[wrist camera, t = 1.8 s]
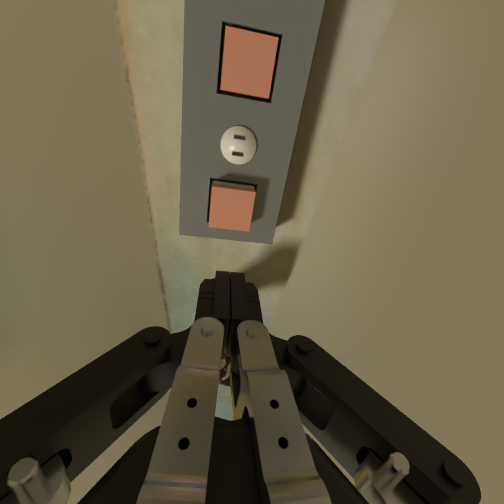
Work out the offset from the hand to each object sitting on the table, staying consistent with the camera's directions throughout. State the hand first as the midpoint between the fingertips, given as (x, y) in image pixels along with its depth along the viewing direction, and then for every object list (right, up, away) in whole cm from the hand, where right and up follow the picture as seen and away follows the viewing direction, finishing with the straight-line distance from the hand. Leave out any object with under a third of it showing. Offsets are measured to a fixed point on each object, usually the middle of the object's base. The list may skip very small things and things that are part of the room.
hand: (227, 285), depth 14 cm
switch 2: (-1, +7, +12) cm, 14 cm away
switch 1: (+1, +18, +8) cm, 20 cm away
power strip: (0, +15, +11) cm, 19 cm away
